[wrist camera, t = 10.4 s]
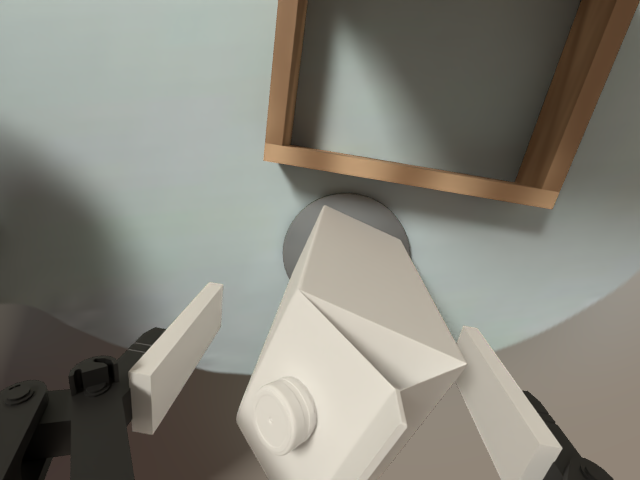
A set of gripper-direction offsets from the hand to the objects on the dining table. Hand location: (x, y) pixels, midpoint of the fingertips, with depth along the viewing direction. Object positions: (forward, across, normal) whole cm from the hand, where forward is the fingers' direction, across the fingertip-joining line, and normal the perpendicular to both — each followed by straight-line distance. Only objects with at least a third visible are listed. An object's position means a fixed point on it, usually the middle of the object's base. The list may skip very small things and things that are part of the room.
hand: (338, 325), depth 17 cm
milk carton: (+11, 0, 0) cm, 11 cm away
